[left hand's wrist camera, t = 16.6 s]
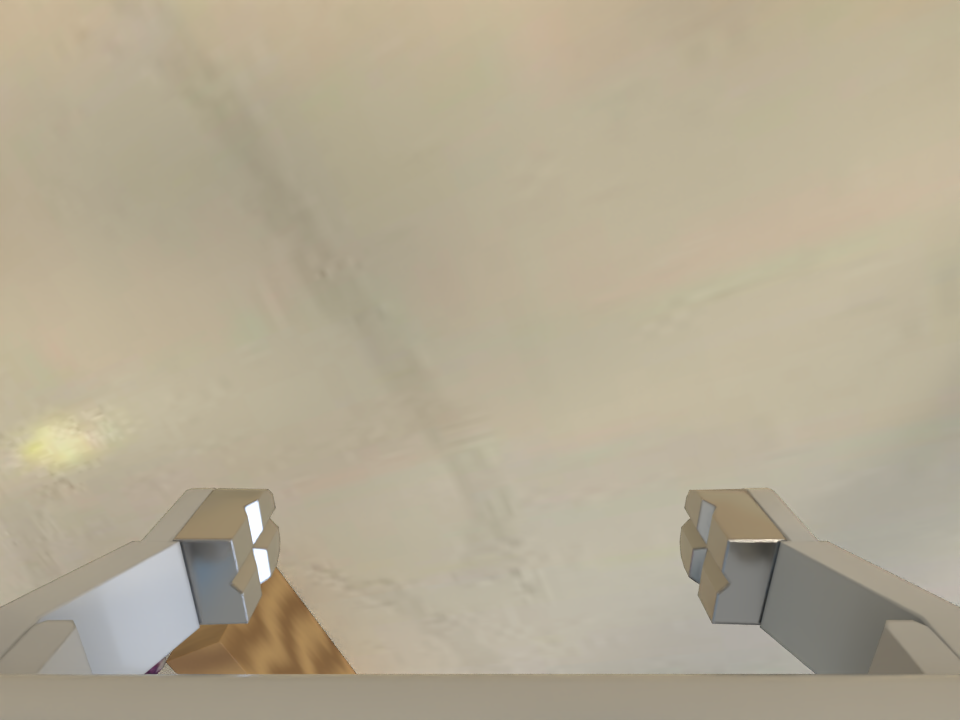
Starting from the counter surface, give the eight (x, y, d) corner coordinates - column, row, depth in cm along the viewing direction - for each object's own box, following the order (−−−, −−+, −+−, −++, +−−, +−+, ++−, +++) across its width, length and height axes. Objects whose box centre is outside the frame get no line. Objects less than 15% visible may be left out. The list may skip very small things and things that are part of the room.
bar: (221, 571, 49) (165, 661, 41) (266, 553, 49) (219, 641, 40) (360, 745, 58) (338, 851, 49) (400, 732, 57) (386, 837, 48)
